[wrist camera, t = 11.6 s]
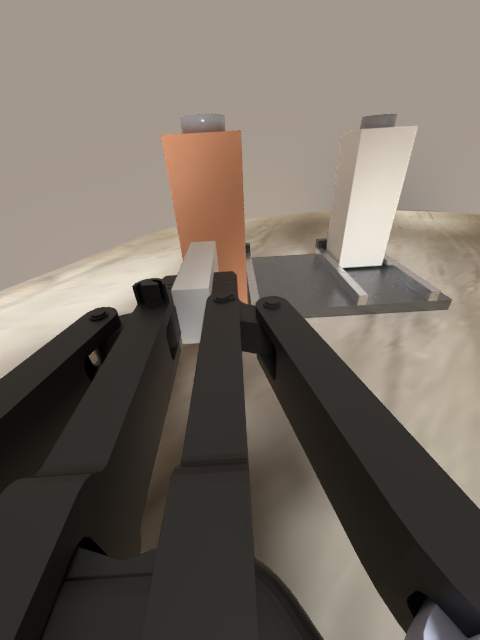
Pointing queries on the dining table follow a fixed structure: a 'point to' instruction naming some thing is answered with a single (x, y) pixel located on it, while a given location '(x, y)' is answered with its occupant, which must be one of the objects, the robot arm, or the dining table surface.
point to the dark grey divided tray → (339, 285)
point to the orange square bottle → (209, 190)
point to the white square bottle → (368, 189)
